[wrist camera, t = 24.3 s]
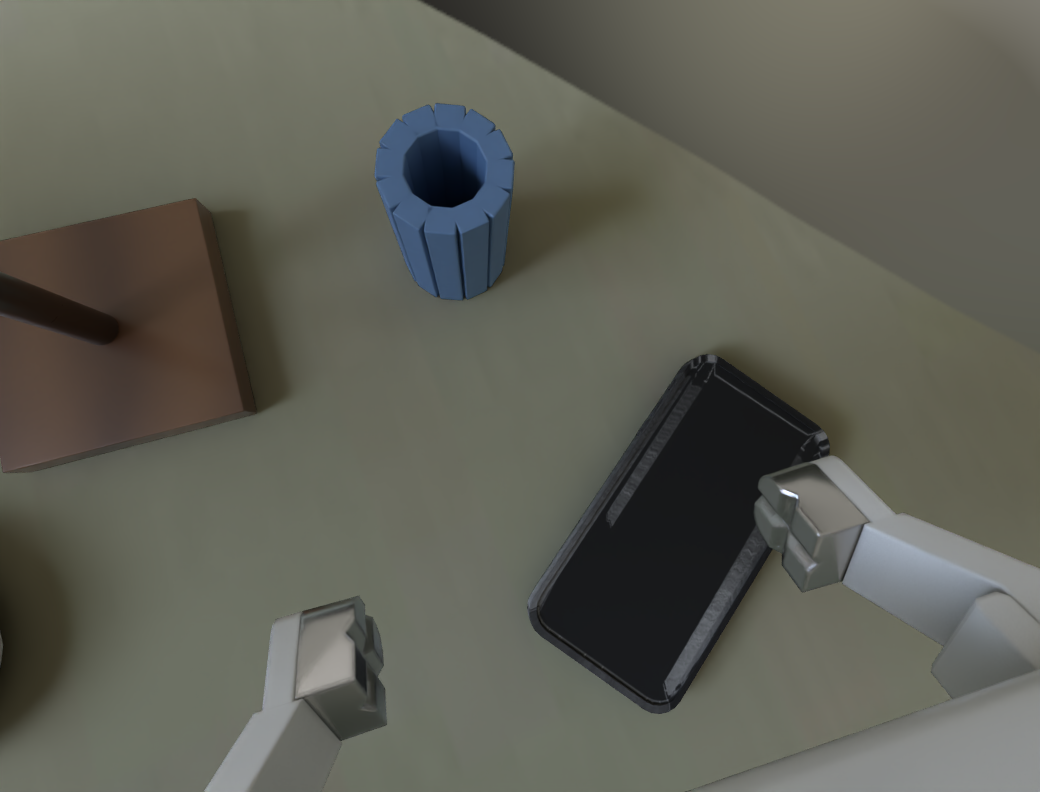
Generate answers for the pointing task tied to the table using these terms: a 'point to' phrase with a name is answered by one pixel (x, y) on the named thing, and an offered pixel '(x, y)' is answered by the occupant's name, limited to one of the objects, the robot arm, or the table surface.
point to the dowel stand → (115, 336)
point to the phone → (672, 535)
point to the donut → (1, 648)
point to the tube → (447, 197)
